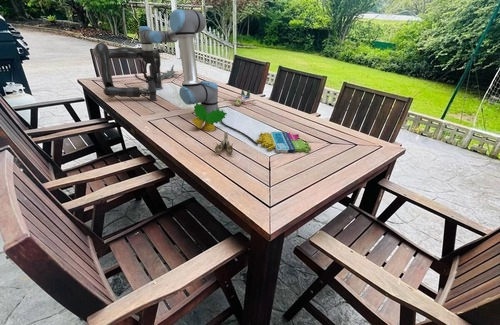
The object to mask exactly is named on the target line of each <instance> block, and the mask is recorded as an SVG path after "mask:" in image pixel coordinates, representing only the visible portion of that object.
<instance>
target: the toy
mask: <svg viewBox="0 0 500 325" xmlns="http://www.w3.org/2000/svg"><path fill="white" fill-rule="evenodd" d="M240 92H241V93H240V95H238V96H237V97H235V99H233V98H230V99H228V98H227V97H226V96H225V97H224V98H223V101H224V102H233V103H232V104H233V105H235V106H242V103H243V104H247V105H252V106H255V105H256V104H257V103H256V102H254V101H253V100H252V101H251V102H250V101H248V100H246V99H248V98H250V97H251V90H250V89H249V90H248V91H247V92H246V93H245V91H244V89H242V90H241V91H240Z"/></svg>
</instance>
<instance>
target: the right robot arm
mask: <svg viewBox="0 0 500 325" xmlns="http://www.w3.org/2000/svg"><path fill="white" fill-rule="evenodd" d="M168 22H169V23H168V24H169V28H170V29H168V30H152V29H151V27H150V26H143V25H141V26H139V27H138V29H139V30H138V31H139V38H140V39H139V40H140V46H141V49H142V54H143V57H142V58H140V59H138V61H139V66H140V68H139V69H140V74H143V78H144V79H145V80H146V81H145V82H146V84H148V80H147V76H148V75H147V68H148V65H150V64H151V65H152V67H153V70H154V72H155V73H154V77H155V83H156V78H157V73H159V68H158V59H155V58H154V56H153V51H152V50H154V47H153V44H165V43H169V44H170V43H173V44H174V43H177V42H178V45H179V46H178V47H179V51H180V52H179V54H180V60H181V67H182V74H183V75H182V76H183V81H182V83H181V85H182V86H181V87H180V88H179V97H180V99H181V101H182V102H183V103H184V104H186V105H188V106H189V105H190V106H191V105H196V102H197V103H198V104H201V106H204V109H206V112H208V113H211V112H212V110H214V111H216V110H217V109H219V111H221V110H220V108H219V102H218V99H219V98H218V97H219V88H218V84H217V82H214V81H210V80H199V79H198V69H197V62H196V52H195V44H194V38H195V37H196V34H198V33H201V32H203V31H205V29H206V26H207V21H206V17H205V16H204V14H203V13H202V12H200V11H199V10H192V9H182V8H181V9H180V8H179V9H174V10H173V11H171V13H170V15H169V21H168ZM154 60H155V62H156V68H157V71H156V70H155V67H154V65H153V61H154ZM143 62H144V68H143ZM208 113H207V115H208ZM219 122H220V123H221V124H222V125H223V126H225V127H227V128H229V129H231V130H232V131H233V130H234V131H235V132H238V133H240V134H241V135H243V136H245V137H246V138H248V139H249V140H250V141H252V142H253V143H254V144H255V145H256V146H258V144H259V143H257V142H256V140H254V139H253V138H252V137H250V136H249V135H248V134H246V133H244V132H242V131H240V130H239V129H236V128H234V127H232V126H230V125H228V124H225V123H224V122H223V121H222V122H221V121H219Z"/></svg>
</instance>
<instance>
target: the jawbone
mask: <svg viewBox="0 0 500 325" xmlns="http://www.w3.org/2000/svg"><path fill="white" fill-rule="evenodd" d="M223 135H224V136H223V140H222V139H221V142H220V144H218V142H215V144H216V146H215V148H214V149H215V152H214V154H215V155H217V156H218V155H220V153H221V152H223V151H224V150H226V152H227V153H228V155H229V156H233V155H234V154H233V153H234V148H233V144H234V143H230V140H228V139H229V138H228V137H229V136H228V135H229V133H228V131H226V132H224V134H223Z"/></svg>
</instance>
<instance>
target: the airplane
mask: <svg viewBox="0 0 500 325" xmlns="http://www.w3.org/2000/svg"><path fill="white" fill-rule="evenodd" d="M174 66H175V65H174V64H172V66H171V68H170V70H166V72H163V71H162V72H161V71H160V73H161V81H163V80H165V79H171V78H173V77H174V78H176V77H177V76H183V73H177V71H175V70H174Z"/></svg>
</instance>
